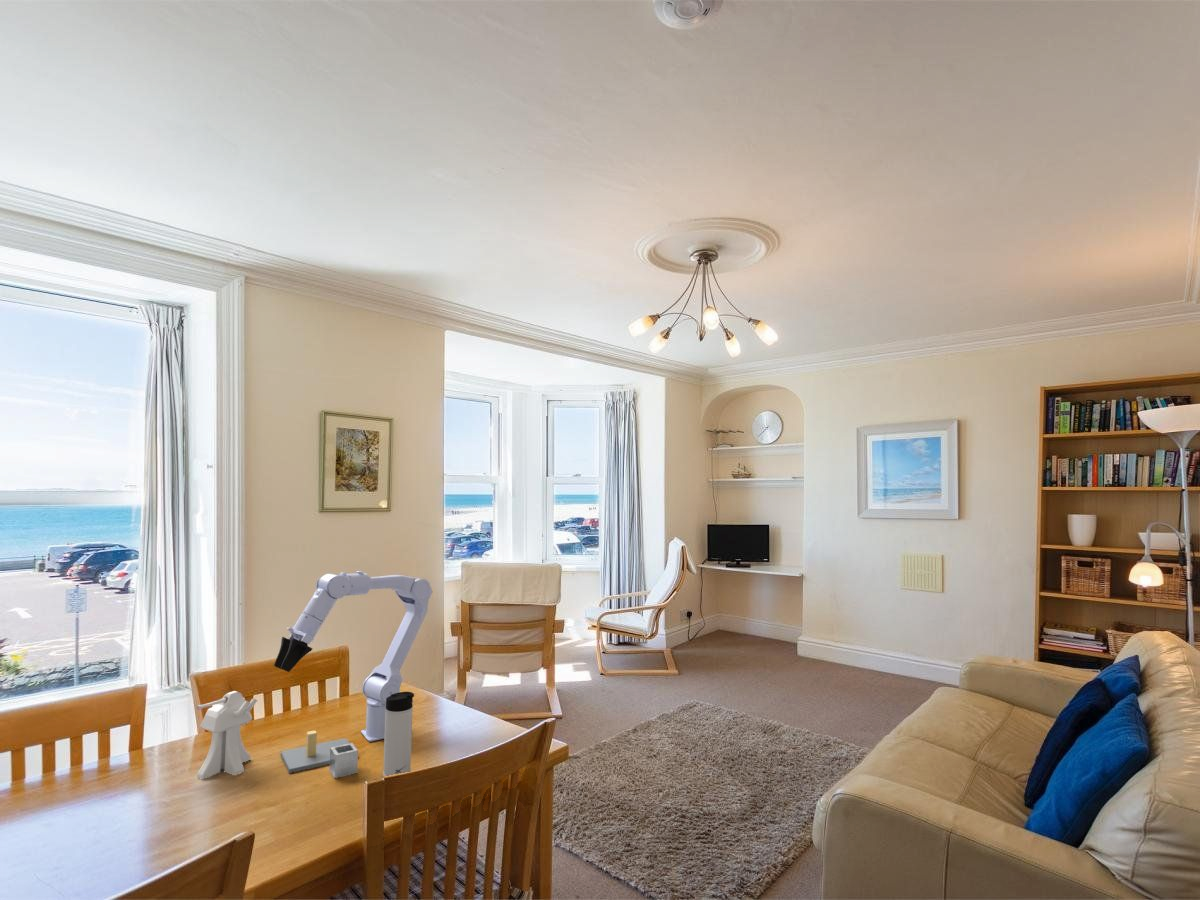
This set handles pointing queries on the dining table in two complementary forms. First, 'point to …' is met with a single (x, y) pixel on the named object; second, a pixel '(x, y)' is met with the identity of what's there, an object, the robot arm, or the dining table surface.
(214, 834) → the dining table surface
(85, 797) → the dining table surface
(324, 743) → the board
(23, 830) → the dining table surface
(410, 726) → the travel mug
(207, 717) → the white mech figurine
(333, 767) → the block
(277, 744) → the dining table surface
